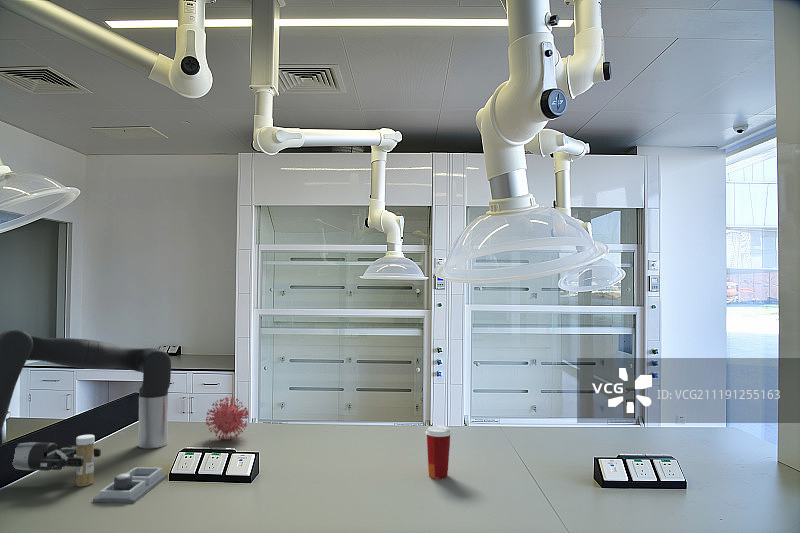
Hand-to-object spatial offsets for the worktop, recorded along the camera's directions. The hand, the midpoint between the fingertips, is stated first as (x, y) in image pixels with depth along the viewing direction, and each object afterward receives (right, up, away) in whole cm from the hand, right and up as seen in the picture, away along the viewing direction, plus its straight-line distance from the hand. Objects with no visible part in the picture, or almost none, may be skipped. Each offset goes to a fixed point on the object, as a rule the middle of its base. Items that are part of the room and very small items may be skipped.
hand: (91, 457), depth 162 cm
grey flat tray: (+13, -8, -3) cm, 15 cm away
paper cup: (+99, -9, +9) cm, 99 cm away
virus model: (+25, -9, +45) cm, 52 cm away
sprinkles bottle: (-2, -8, 0) cm, 8 cm away
